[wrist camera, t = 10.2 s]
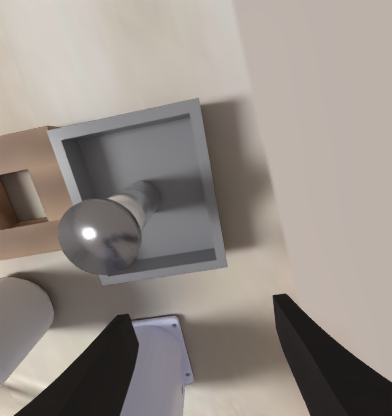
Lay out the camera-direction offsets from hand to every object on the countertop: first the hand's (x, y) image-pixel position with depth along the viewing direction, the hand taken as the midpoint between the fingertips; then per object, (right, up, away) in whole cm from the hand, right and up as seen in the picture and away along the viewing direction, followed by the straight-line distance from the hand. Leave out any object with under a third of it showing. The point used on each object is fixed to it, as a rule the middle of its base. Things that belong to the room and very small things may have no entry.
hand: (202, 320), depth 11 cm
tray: (-4, +7, +9) cm, 12 cm away
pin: (-5, +6, +8) cm, 12 cm away
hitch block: (-15, +7, +9) cm, 19 cm away
